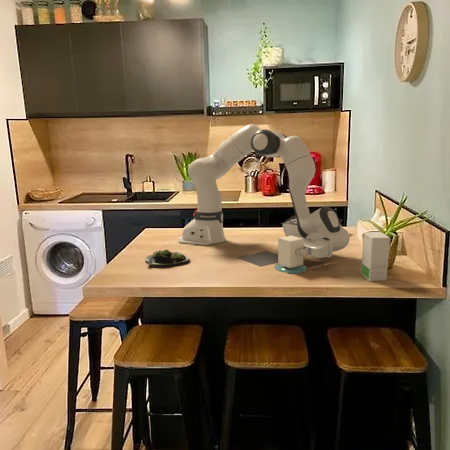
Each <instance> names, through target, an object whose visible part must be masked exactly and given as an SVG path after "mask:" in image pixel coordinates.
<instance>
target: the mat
mask: <svg viewBox="0 0 450 450" xmlns="http://www.w3.org/2000/svg"><path fill="white" fill-rule="evenodd" d="M235 258H236V259H238V260H239V259H240V260H242V261H245V262H247V263H250V264H252V265H255V266H258V267H266V266H270V265H273V264H274V265H276V264H278V254H277V253H276V252H275V253H274V252H271V251H268V250H265V251H260V252H255V253H250V254H246V255H242V256H236V257H235Z"/></svg>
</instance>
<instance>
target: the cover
mask: <svg viewBox="0 0 450 450" xmlns="http://www.w3.org/2000/svg"><path fill="white" fill-rule="evenodd" d="M277 243H278V244H277V253H278V263H277V264H280V265H283V266H286V267H289V268H292V267H296V266H300V265H304V254H301V255H297V254H295V250H296V249H304V239H303V238H301V237H296V236H292V235H291V236H286V235H285V236H281V237H278V239H277Z"/></svg>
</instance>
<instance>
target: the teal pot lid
mask: <svg viewBox="0 0 450 450" xmlns="http://www.w3.org/2000/svg"><path fill="white" fill-rule="evenodd" d="M274 269H275V270H276V271H278V272H281V273H286V274H289V275H293V274H302V273H305V272H306V271H307V269H308V267H307V265H305V264H303V265H300V266H296V267H292V268H289V267H286V266H283V265H280V264H278V263H276V264H274ZM304 271H305V272H304ZM301 272H302V273H301Z"/></svg>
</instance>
